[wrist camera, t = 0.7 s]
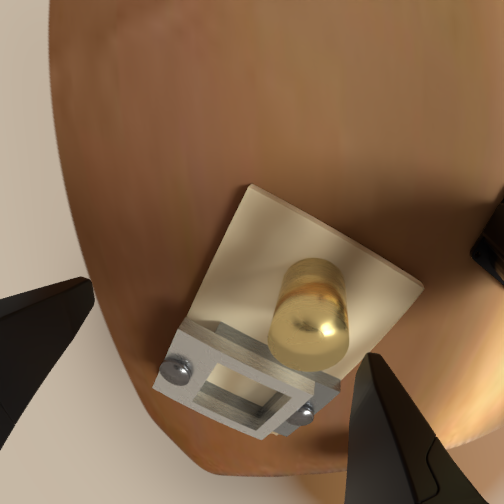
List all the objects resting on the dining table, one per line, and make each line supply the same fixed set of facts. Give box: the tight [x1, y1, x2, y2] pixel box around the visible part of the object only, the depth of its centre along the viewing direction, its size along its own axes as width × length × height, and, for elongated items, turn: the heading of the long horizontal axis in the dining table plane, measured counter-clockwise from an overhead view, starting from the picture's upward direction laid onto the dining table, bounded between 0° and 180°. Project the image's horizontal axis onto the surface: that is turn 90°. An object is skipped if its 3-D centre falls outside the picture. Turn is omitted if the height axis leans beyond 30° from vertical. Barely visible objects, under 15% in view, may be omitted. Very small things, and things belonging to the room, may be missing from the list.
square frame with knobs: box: [153, 317, 340, 440], centre depth 25 cm, size 14×9×4 cm, turn 64°
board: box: [187, 184, 424, 435], centre depth 25 cm, size 14×22×1 cm, turn 154°
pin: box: [267, 258, 349, 372], centre depth 19 cm, size 4×4×6 cm
